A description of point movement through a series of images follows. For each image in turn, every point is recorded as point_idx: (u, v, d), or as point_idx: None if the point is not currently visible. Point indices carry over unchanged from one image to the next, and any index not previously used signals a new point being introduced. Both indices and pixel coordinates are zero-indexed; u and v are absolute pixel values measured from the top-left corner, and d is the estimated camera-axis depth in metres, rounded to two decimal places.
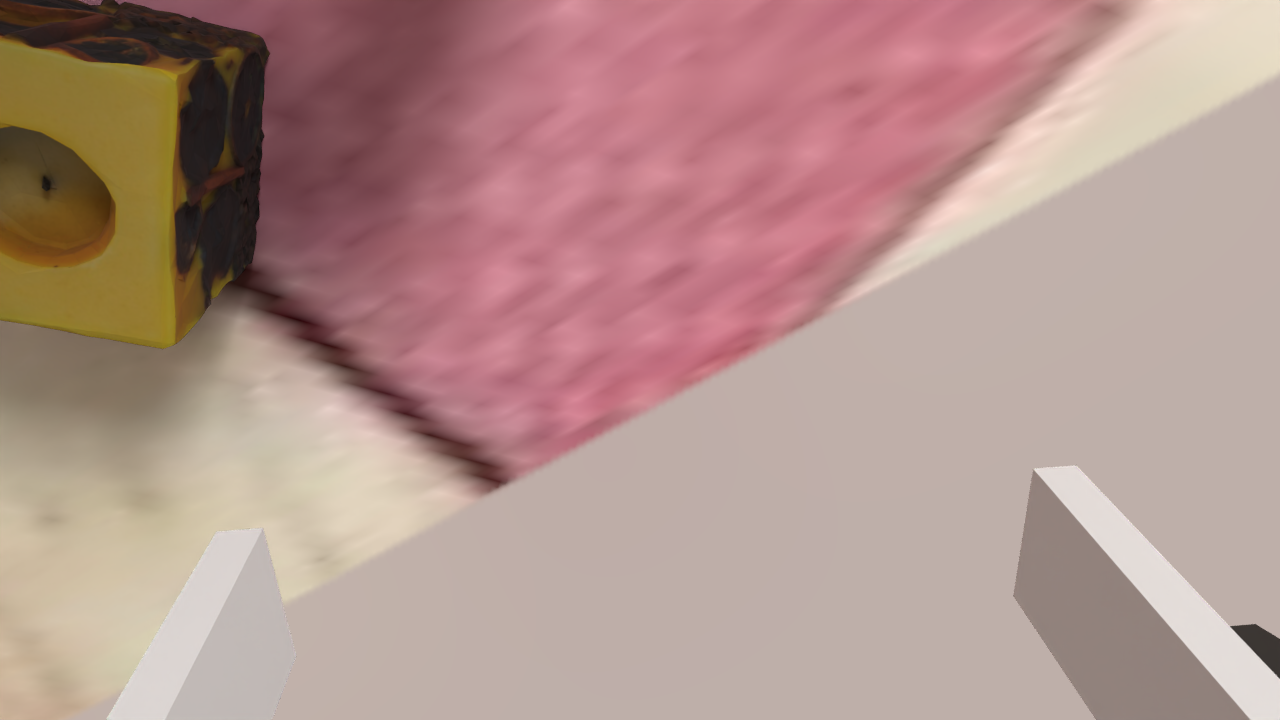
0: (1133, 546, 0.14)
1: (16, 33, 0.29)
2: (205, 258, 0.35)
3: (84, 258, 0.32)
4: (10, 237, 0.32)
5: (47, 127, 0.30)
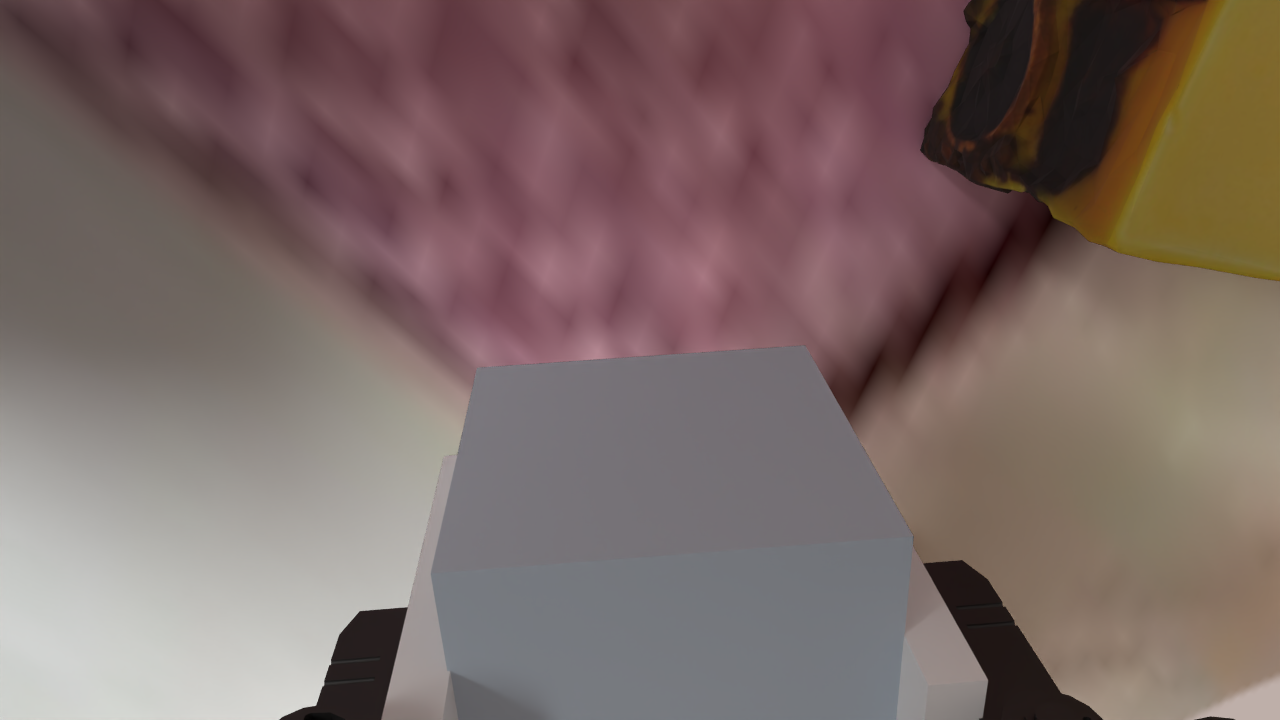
0: None
1: None
2: None
3: None
4: None
5: None
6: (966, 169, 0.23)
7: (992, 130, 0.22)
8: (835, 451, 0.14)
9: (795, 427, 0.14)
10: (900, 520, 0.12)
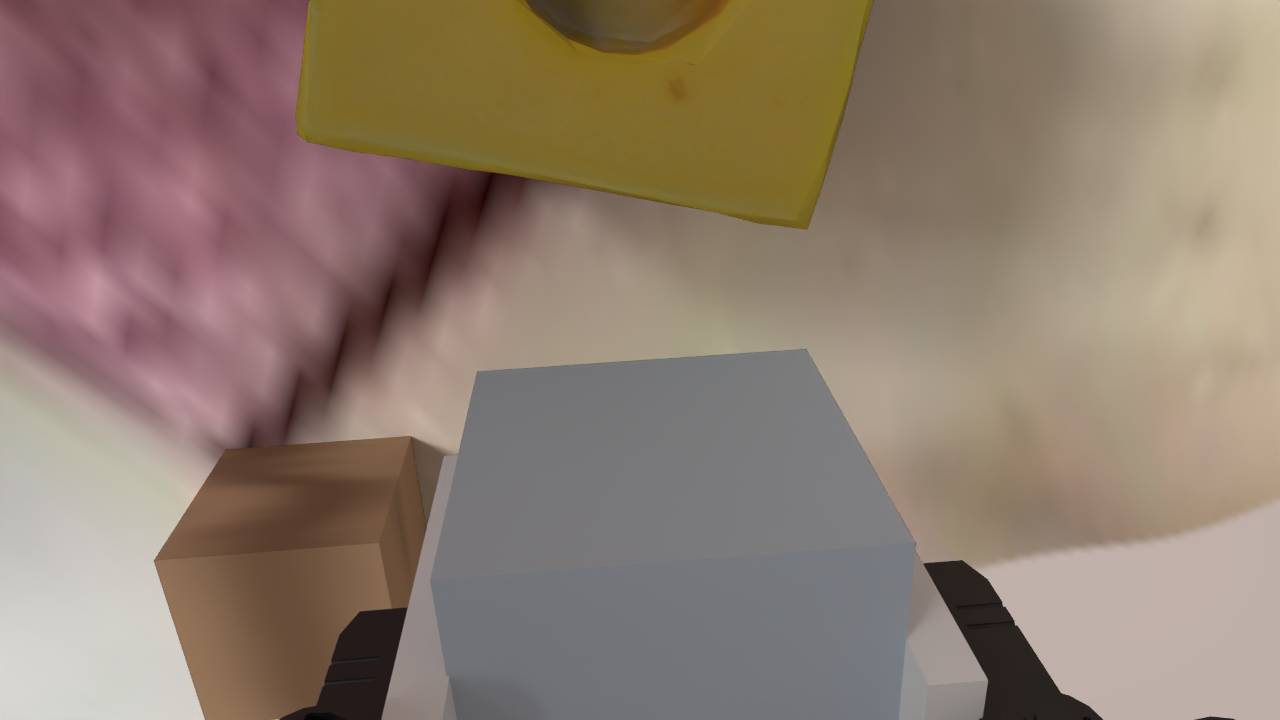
0: None
1: None
2: None
3: None
4: (713, 4, 0.18)
5: None
6: None
7: None
8: (837, 456, 0.14)
9: (795, 432, 0.14)
10: (902, 526, 0.12)
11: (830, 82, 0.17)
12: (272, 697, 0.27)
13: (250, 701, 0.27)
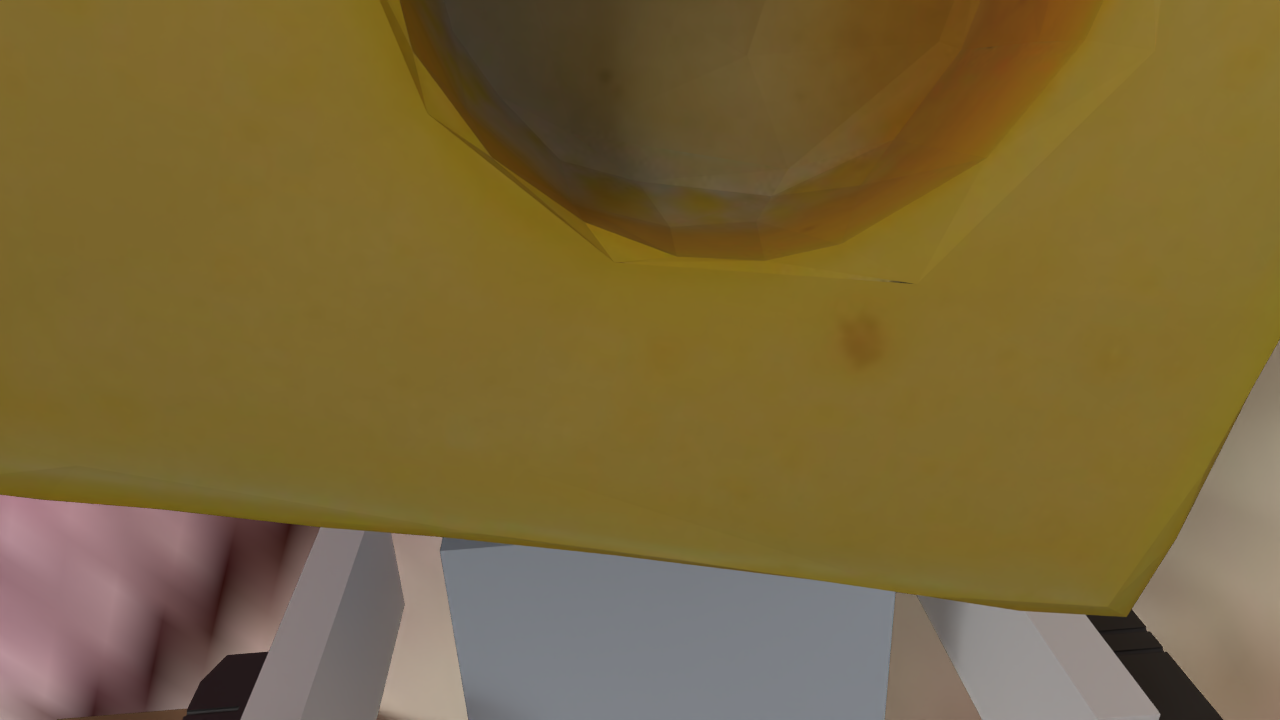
0: None
1: None
2: None
3: None
4: (934, 115, 0.07)
5: None
6: None
7: None
8: None
9: None
10: None
11: (1243, 319, 0.07)
12: None
13: None
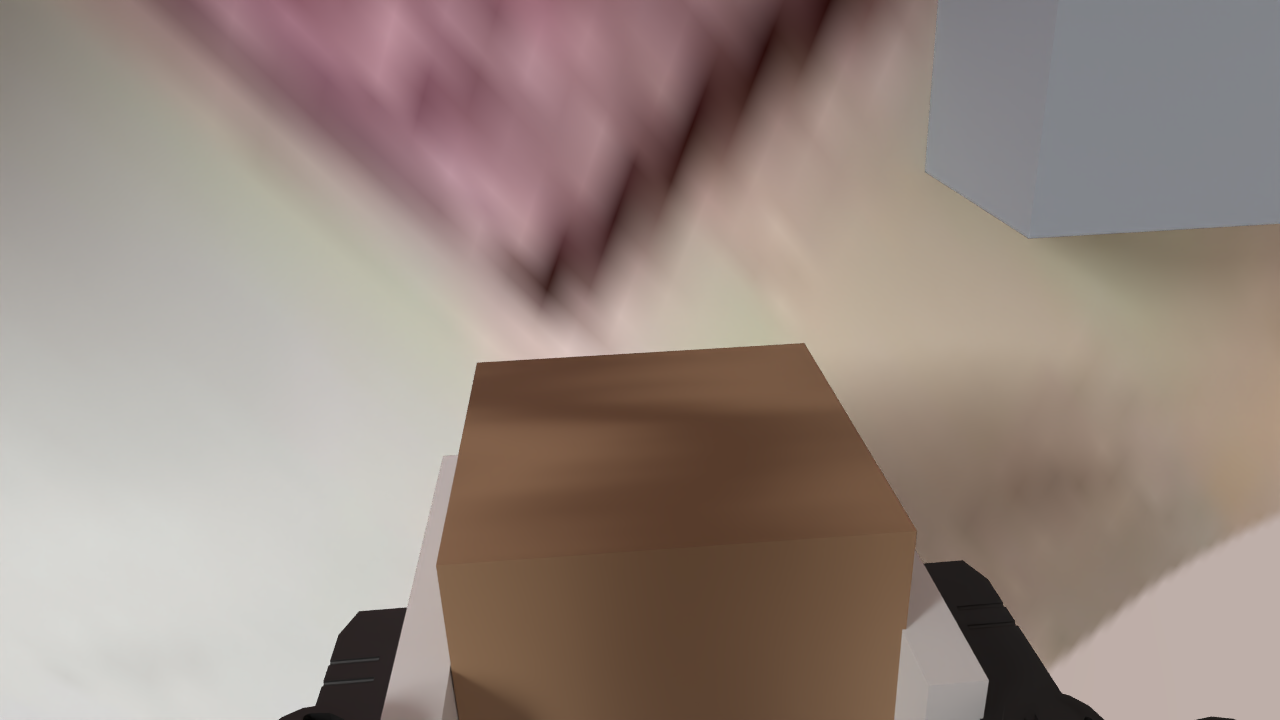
0: None
1: None
2: None
3: None
4: None
5: None
6: None
7: None
8: None
9: None
10: None
11: None
12: None
13: None
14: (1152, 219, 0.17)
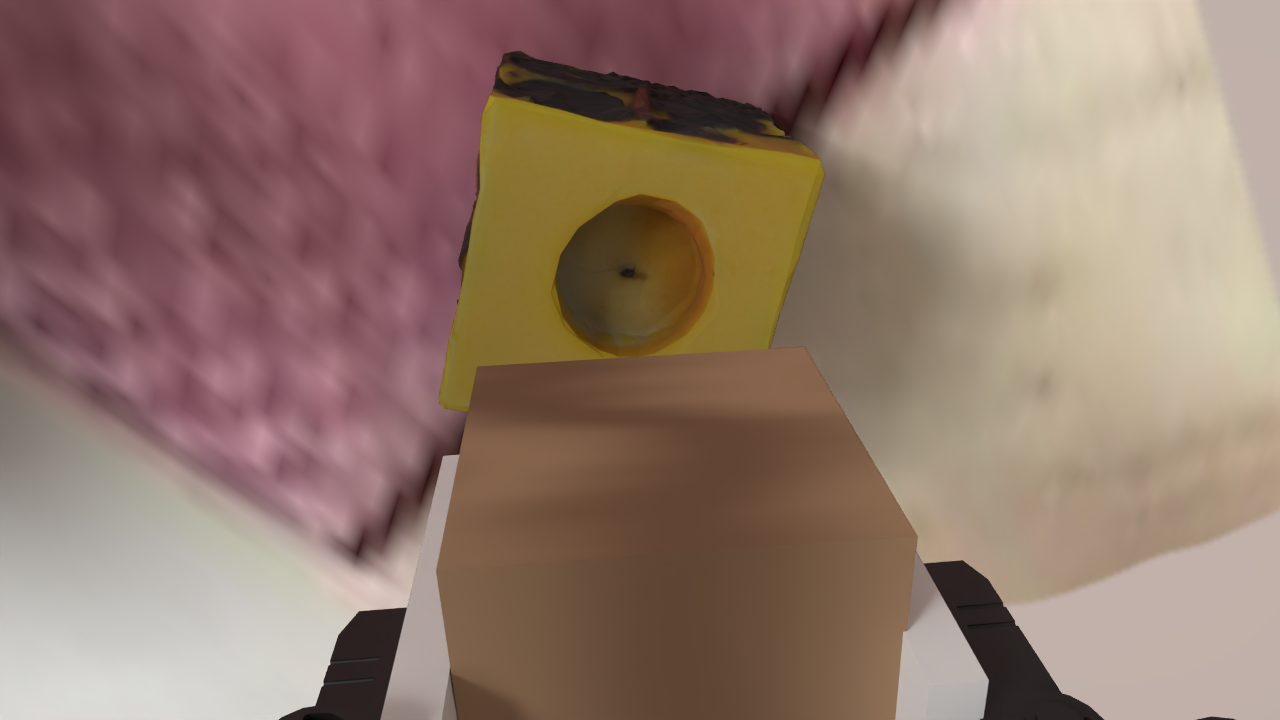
0: None
1: (459, 258, 0.27)
2: (727, 125, 0.29)
3: (706, 243, 0.28)
4: (683, 318, 0.30)
5: (554, 247, 0.27)
6: None
7: None
8: None
9: None
10: None
11: None
12: None
13: None
14: None
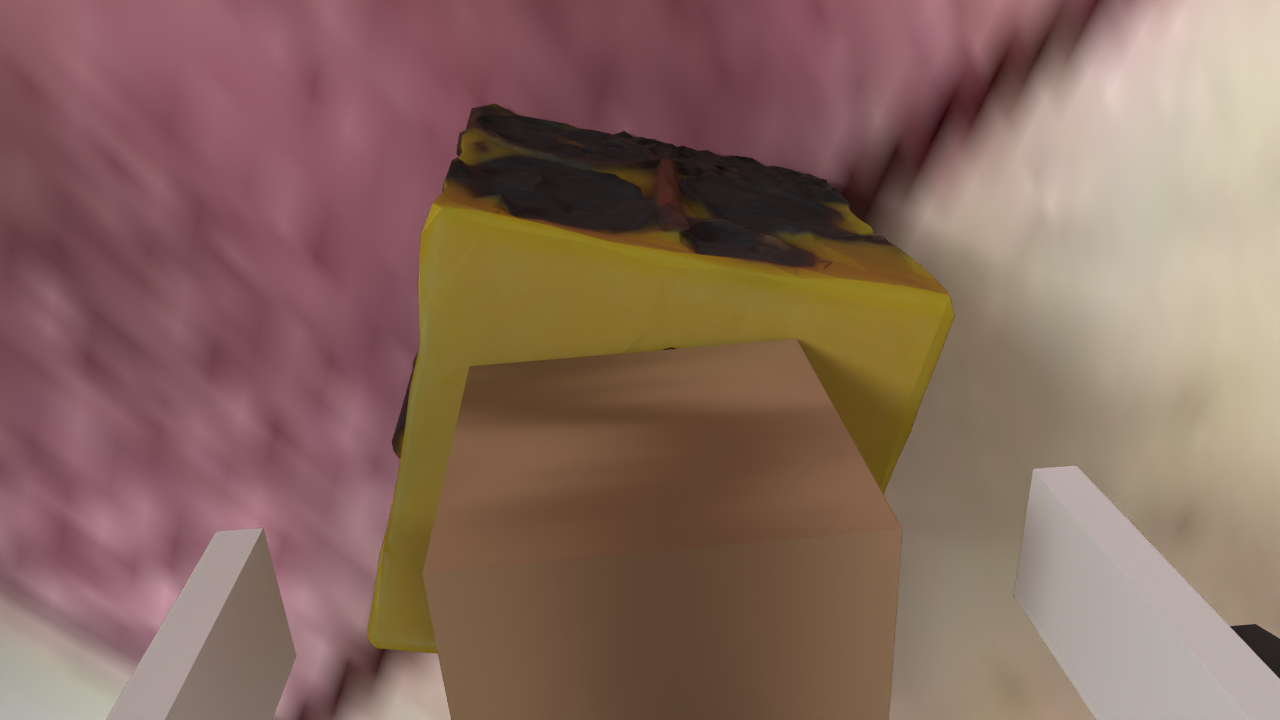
0: (1133, 546, 0.14)
1: (393, 439, 0.18)
2: (796, 227, 0.19)
3: None
4: None
5: None
6: None
7: None
8: None
9: None
10: None
11: None
12: None
13: None
14: None
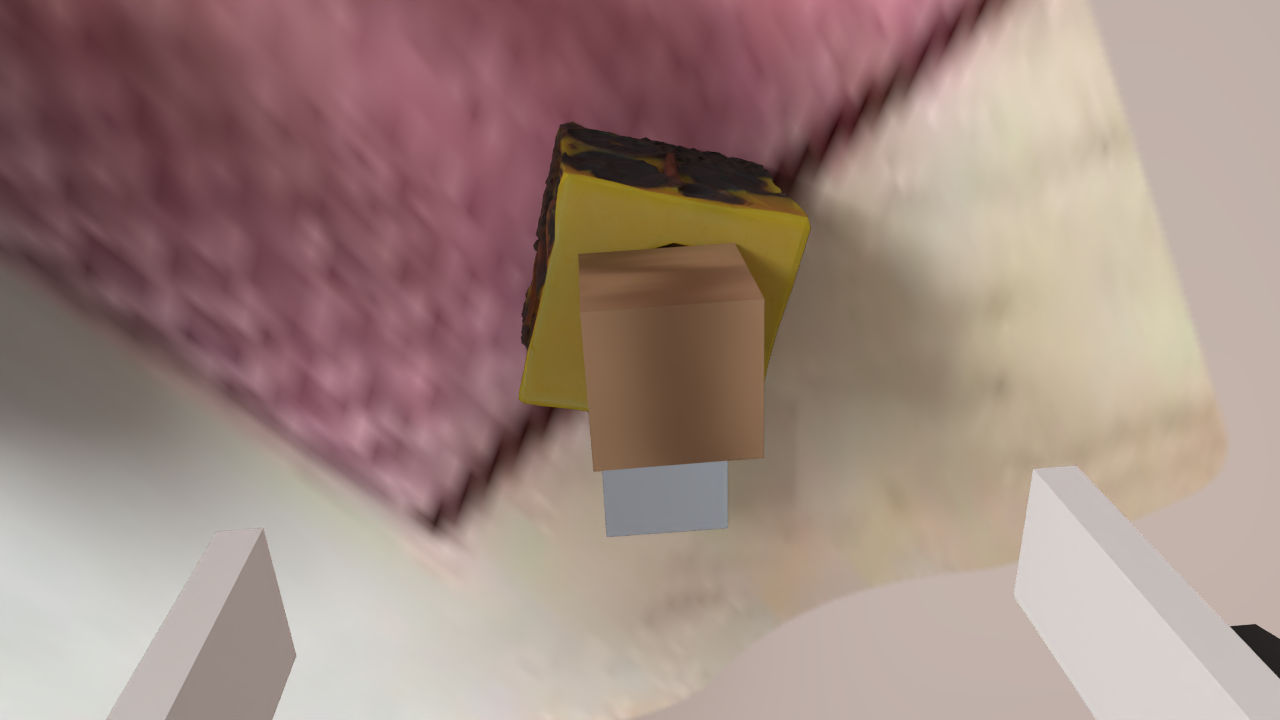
0: (1133, 546, 0.14)
1: (536, 290, 0.36)
2: (737, 187, 0.38)
3: None
4: None
5: None
6: None
7: (525, 321, 0.43)
8: None
9: None
10: None
11: None
12: (651, 445, 0.32)
13: (633, 448, 0.32)
14: (653, 529, 0.46)
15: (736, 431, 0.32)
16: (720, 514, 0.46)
